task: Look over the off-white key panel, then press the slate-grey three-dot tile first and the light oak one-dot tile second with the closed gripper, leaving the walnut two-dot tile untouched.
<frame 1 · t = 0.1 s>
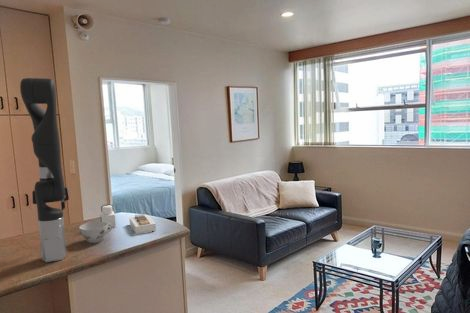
hand: (52, 210, 151), 17 cm above the worktop, tool pointing down, fingers open, 8 cm apart
tile one: (144, 223, 172), point 4 cm above the worktop, slide at 0.0 cm
tile three: (139, 217, 183), point 4 cm above the worktop, slide at 0.0 cm
medicine bottle: (108, 226, 182), on the worktop
key panel: (142, 227, 178), on the worktop
teacup: (97, 240, 161), on the worktop
tile two: (142, 220, 177), point 4 cm above the worktop, slide at 0.0 cm
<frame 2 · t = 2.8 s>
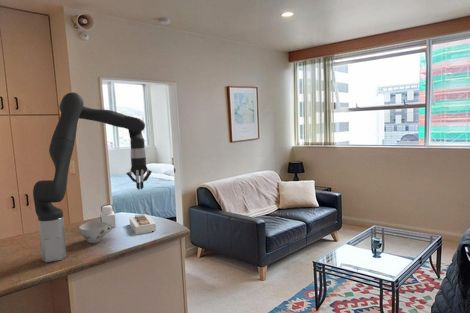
hand: (140, 189, 176), 21 cm above the worktop, tool pointing down, fingers closed
nothing on the worktop moved.
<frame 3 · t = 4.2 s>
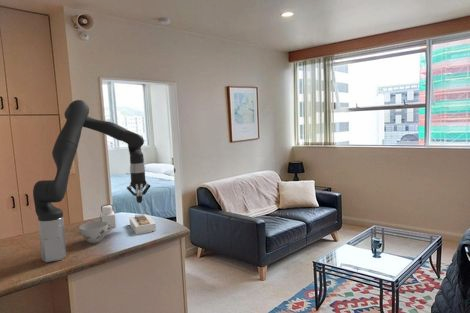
hand: (139, 202, 181), 13 cm above the worktop, tool pointing down, fingers closed
nothing on the worktop moved.
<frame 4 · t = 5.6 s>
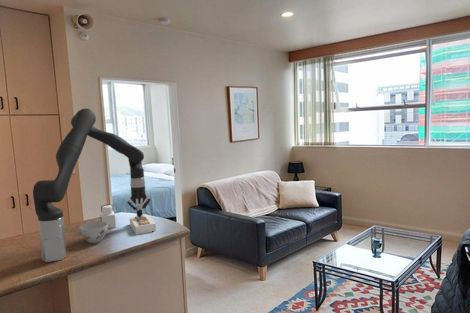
hand: (139, 216, 183), 5 cm above the worktop, tool pointing down, fingers closed
tile three: (140, 218, 183), point 3 cm above the worktop, slide at 0.8 cm, touching gripper
everything else where it was.
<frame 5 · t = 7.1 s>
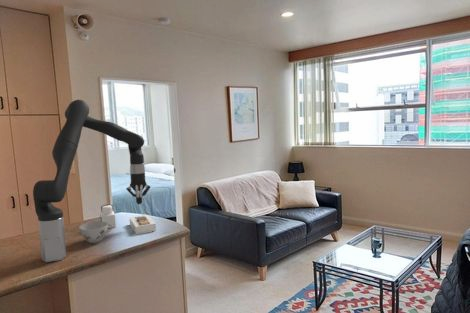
hand: (139, 203, 179), 13 cm above the worktop, tool pointing down, fingers closed
tile three: (140, 219, 183), point 3 cm above the worktop, slide at 1.3 cm
everything else where it was.
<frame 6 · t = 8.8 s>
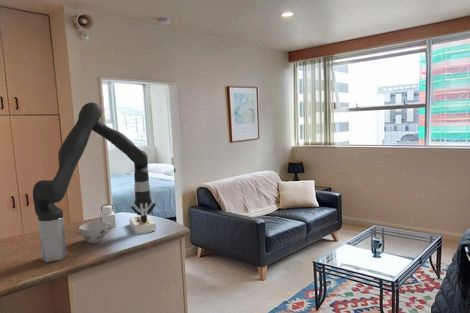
hand: (144, 222, 172), 5 cm above the worktop, tool pointing down, fingers closed
tile one: (144, 224, 172), point 3 cm above the worktop, slide at 0.8 cm, touching gripper
everything else where it was.
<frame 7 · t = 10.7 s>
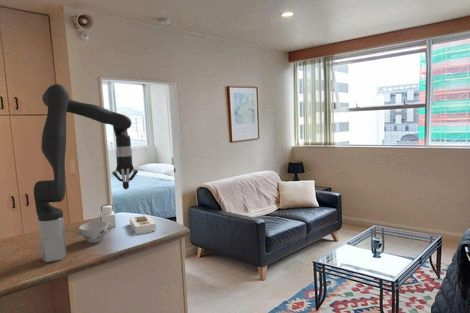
hand: (126, 189, 169), 23 cm above the worktop, tool pointing down, fingers closed
tile one: (144, 225, 172), point 3 cm above the worktop, slide at 1.3 cm
everything else where it was.
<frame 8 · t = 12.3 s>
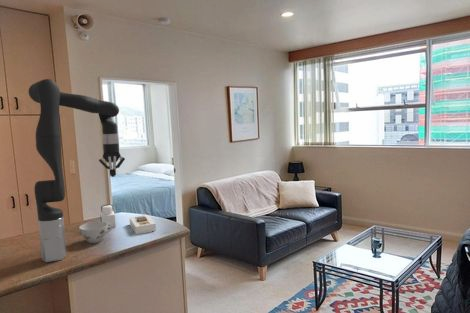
hand: (113, 176, 170), 29 cm above the worktop, tool pointing down, fingers closed
nothing on the worktop moved.
at the end: tile three slide at 1.3 cm; tile one slide at 1.3 cm; tile two slide at 0.0 cm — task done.
